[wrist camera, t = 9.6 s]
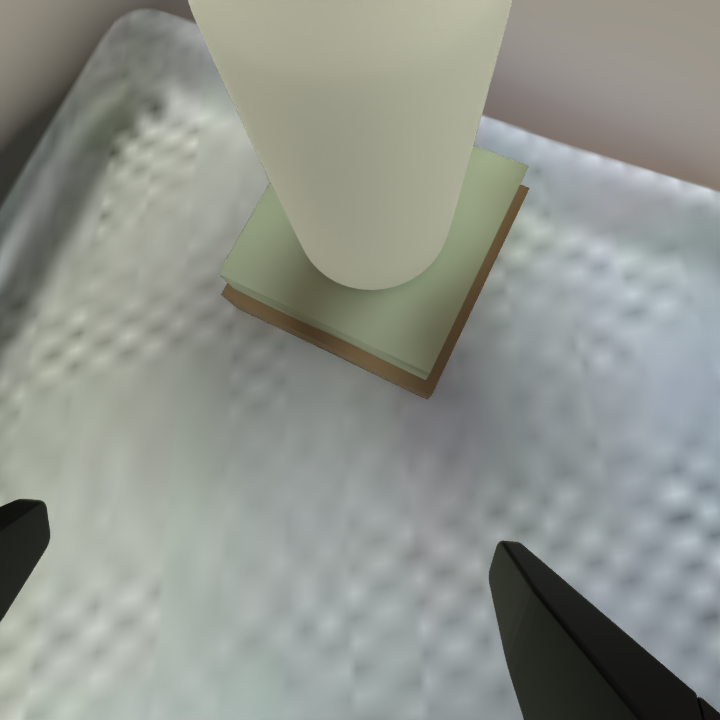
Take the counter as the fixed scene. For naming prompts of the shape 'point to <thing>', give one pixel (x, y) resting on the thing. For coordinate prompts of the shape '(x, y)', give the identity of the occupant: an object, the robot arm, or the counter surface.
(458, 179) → the can
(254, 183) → the counter surface
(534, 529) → the counter surface
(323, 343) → the tower base
